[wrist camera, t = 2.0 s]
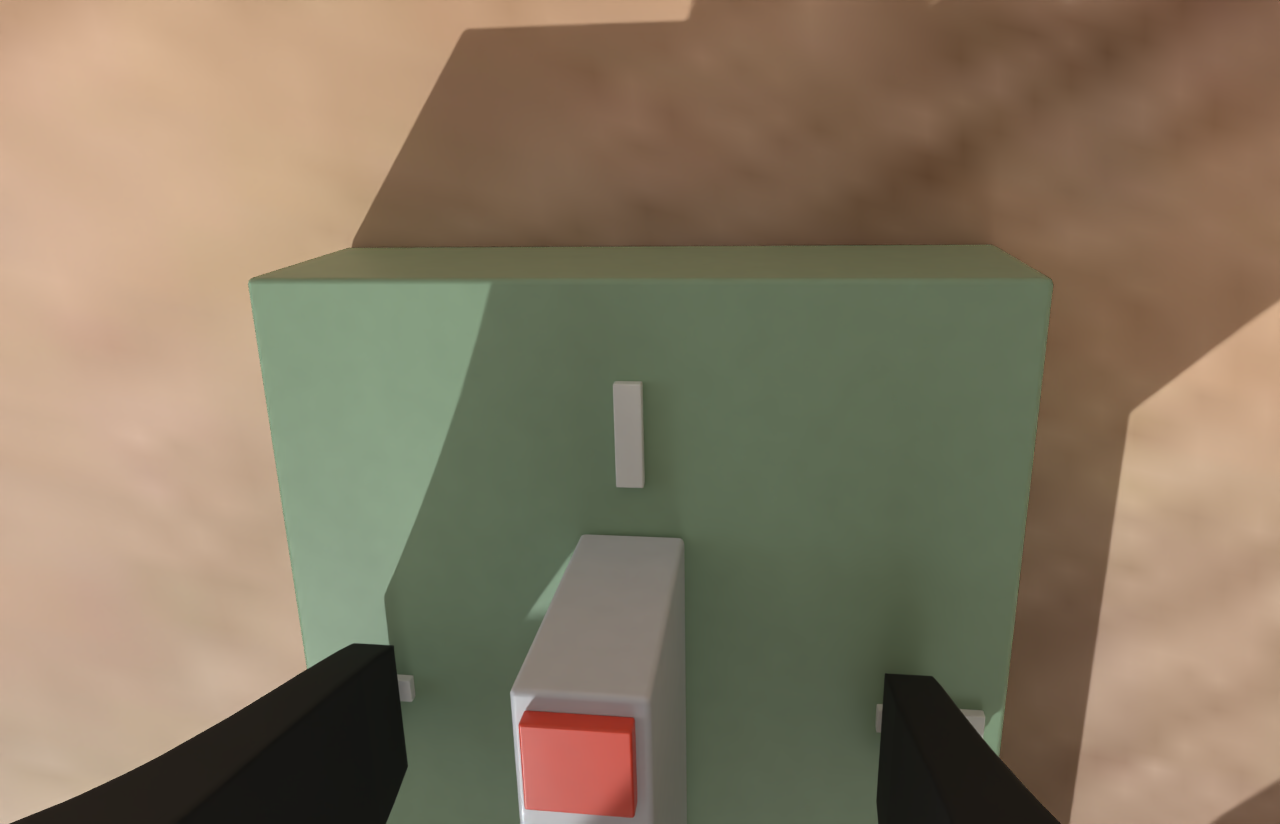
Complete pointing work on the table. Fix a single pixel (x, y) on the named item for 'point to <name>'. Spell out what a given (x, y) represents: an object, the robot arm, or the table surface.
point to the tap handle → (606, 690)
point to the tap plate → (663, 488)
